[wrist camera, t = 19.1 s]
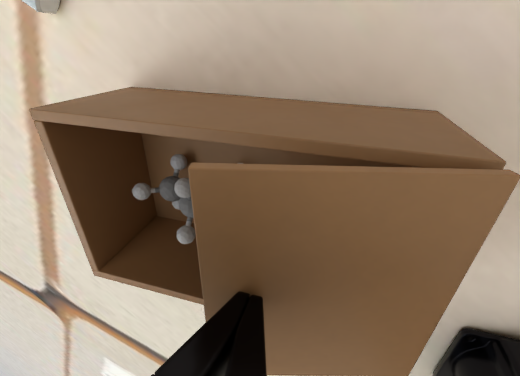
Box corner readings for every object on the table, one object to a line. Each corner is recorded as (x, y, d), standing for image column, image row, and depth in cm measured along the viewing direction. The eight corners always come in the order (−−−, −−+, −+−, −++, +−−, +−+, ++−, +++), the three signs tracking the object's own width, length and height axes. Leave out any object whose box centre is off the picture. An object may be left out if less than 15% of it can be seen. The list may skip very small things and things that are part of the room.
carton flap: (509, 169, 7) (522, 175, 7) (403, 367, 12) (407, 377, 12) (190, 161, 7) (187, 168, 7) (213, 365, 12) (211, 375, 12)
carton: (438, 111, 13) (507, 162, 7) (385, 261, 18) (404, 359, 12) (131, 86, 17) (28, 108, 11) (156, 216, 22) (93, 275, 16)
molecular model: (168, 194, 20) (120, 236, 15) (161, 140, 17) (103, 171, 13) (361, 234, 17) (367, 299, 13) (379, 175, 15) (394, 230, 11)
